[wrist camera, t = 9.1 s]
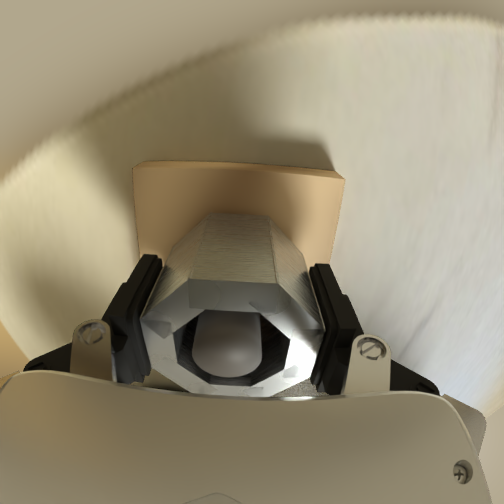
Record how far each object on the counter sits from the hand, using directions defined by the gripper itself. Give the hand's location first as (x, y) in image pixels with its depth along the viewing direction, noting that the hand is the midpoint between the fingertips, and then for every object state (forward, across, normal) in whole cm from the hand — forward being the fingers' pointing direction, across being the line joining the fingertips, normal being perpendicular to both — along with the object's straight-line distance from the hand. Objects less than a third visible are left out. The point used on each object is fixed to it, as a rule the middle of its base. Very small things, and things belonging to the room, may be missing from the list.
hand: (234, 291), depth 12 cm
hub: (+1, 0, 0) cm, 1 cm away
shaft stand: (+3, 0, 0) cm, 3 cm away
